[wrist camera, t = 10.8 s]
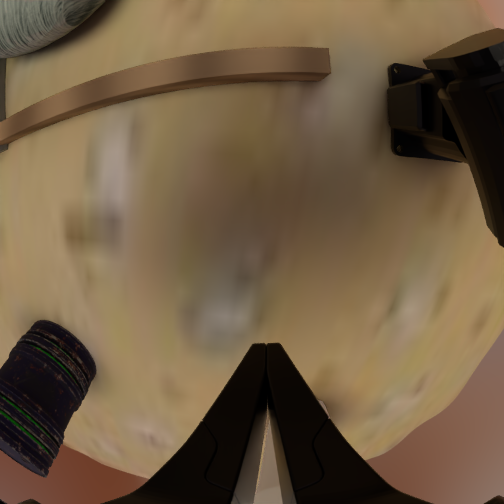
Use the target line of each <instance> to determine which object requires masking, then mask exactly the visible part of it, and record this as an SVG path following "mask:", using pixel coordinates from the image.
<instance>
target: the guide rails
mask: <svg viewBox="0 0 504 504" xmlns="http://www.w3.org/2000/svg"><path fill="white" fill-rule="evenodd" d="M330 73H331V68H330V56H329V48H313V47H264V48H246V49H233V50H223V51H215V52H207V53H200V54H193V55H187V56H182V57H176V58H171V59H166V60H161V61H157V62H152V63H148V64H144V65H140V66H136V67H132V68H129V69H125V70H122V71H118V72H115V73H112V74H109V75H105V76H102V77H99V78H96V79H93V80H91V81H88V82H85V83H82V84H80V85H77V86H74V87H72V88H69V89H67V90H65V91H62V92H60V93H57V94H55V95H53V96H51V97H48V98H46V99H44V100H42V101H40V102H38V103H35V104H33V105H31V106H29V107H27V108H25V109H23V110H22V111H20V112H18V113H16V114H14V115H12V116H10V117H9V118H7V119H5V120H3V121H2V122H0V146H1V145H5V144H8V143H10V142H12V141H14V140H17V139H19V138H21V137H23V136H25V135H28V134H30V133H32V132H35V131H37V130H39V129H42V128H44V127H47V126H49V125H52V124H54V123H57V122H60V121H63V120H65V119H68V118H71V117H74V116H77V115H80V114H83V113H86V112H89V111H92V110H96V109H99V108H102V107H106V106H109V105H113V104H117V103H121V102H124V101H128V100H133V99H137V98H141V97H146V96H150V95H155V94H160V93H165V92H171V91H177V90H183V89H189V88H196V87H203V86H211V85H220V84H230V83H242V82H258V81H321V80H322V79H324V78H325V77H326V76H328V75H329V74H330Z"/></svg>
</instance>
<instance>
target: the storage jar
mask: <svg viewBox="0 0 504 504" xmlns="http://www.w3.org/2000/svg"><path fill="white" fill-rule="evenodd" d="M95 374H96V366H95V363H94V360H93V358H92V356H91V355H90V353H89V352H88V350H87V349H86V348H85V346H84V345H83V344H82V343H81V342H80V341H79V340H78V339H77V338H76V337H75V336H74V335H72V334H71V333H70V332H69V331H67V330H66V329H65V328H63V327H61V326H60V325H58V324H56V323H53V322H50V321H46V320H40V321H37V322H36V323H34V325H33V326H32V327H31V329H30V330H29V331H28V332H27V333H26V334H25V335H23V336H22V337H21V338H20V340H19V341H18V342H17V344H16V346H15V347H14V348H13V349H12V351H11V352H10V354H9V358H8V360H7V361H6V362H5V363H4V365H3V366H2V367H1V369H0V450H1V451H3V452H4V453H5V454H7V455H8V456H9V457H11V458H12V459H13V460H15V461H16V462H18V463H19V464H21V465H22V466H24V467H25V468H27V469H29V470H30V471H32V472H34V473H36V474H38V475H40V476H42V477H45V478H46V477H47V475H48V473H49V470H48V469H49V467H51V465H52V463H53V459H56V456H57V454H58V452H59V448H60V446H61V444H63V439H64V431H65V429H66V427H67V425H68V423H69V421H70V419H71V417H72V415H73V413H74V412H75V411H77V410H78V408H79V406H81V403H82V400H83V399H84V398H85V396H86V394H87V392H88V388H89V386H90V384H91V381H92V380H93V379H94V377H95Z"/></svg>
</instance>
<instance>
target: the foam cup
mask: <svg viewBox="0 0 504 504" xmlns="http://www.w3.org/2000/svg"><path fill="white" fill-rule="evenodd" d="M317 400H318V399H317ZM318 401H319V403H320V404H321V406H322V407H323V409H324V410H325V412H326V413H327V414H328V411H327V409H326V406H325V405H324V403H323V401H321V400H318ZM328 416H329V414H328ZM329 418H330V416H329ZM254 504H283V502H282V496H281V490H280V483H279V477H278V471H277V465H276V458H275V452H274V445H273V439H272V433H271V426H270V420H269V425H268V431H267V437H266V443H265V449H264V455H263V461H262V466H261V472H260V477H259V483H258V488H257V493H256V494H255V496H254Z"/></svg>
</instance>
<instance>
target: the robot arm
mask: <svg viewBox="0 0 504 504" xmlns="http://www.w3.org/2000/svg"><path fill="white" fill-rule="evenodd" d="M423 62H424V63H425V65H426V67H427V68H428V69H430V70H426V69H422V68H418V67H413V66H409V65H404V64H399V63H393V64H391V65H390V66H389V68H388V71H389V84H390V88H389V89H388V90H387V93H388V116H389V125H390V127H391V149H392V152H393V153H394V154H395V155H398V156H405V157H416V158H427V159H436V160H444V161H452V162H460V163H461V162H464V163H467V164H469V166H470V169H471V172H472V175H473V178H474V181H475V184H476V187H477V190H478V194H479V197H480V201H481V204H482V208H483V211H484V215H485V219H486V223H487V226H488V228H489V229H490V230H491V232H492V233H493V234H494V236H495V237H496V238H497V239H498V243H499V245H501V246H502V247H504V30H503V29H500V28H496V29H492V30H489V31H485V32H482V33H478V34H475V35H472V36H469V37H467V38H465V39H463V40H461V41H459V42H457V43H455V44H452V45H450V46H448V47H446V48H444V49H442V50H440V51H438V52H436V53H434V54H432V55H430V56H428V57H427V58H425V59H423ZM394 67H395V68H397V69H398V73H396V72H395V71H394ZM399 145H400V147H401V150H400V151H399V152H398V151H397V147H398V146H399ZM267 405H268V412H269V420H270V426H271V433H272V439H273V445H274V452H275V458H276V465H277V471H278V477H279V483H280V490H281V496H282V502H283V504H432V503H430V502H426V501H424V500H421V499H418V498H415V497H413V496H410V495H408V494H405V493H403V492H401V491H399V490H397V489H395V488H394V487H392V486H391V485H389V484H388V483H387V482H386V481H385V480H384V479H383V478H382V477H380V475H378V473H377V472H376V471H375V470H374V469H373V468H372V467H371V466H370V465H369V464H368V463H367V462H366V461H365V460H364V459H363V458H362V457H361V456H360V455H359V454H358V453H357V452H356V451H355V450H354V448H353V447H352V446H351V445H350V444H349V443H348V442H347V441H346V439H345V438H344V437H343V435H342V434H341V433H340V431H339V430H338V429H337V427H336V426H335V424H334V423H333V422H332V420H331V419H330V418H329V416H328V414H327V413H326V412H325V410H324V409H323V407H322V406H321V404H320V403H319V401H318V400H317V398H316V397H315V395H314V394H313V392H312V391H311V389H310V388H309V386H308V385H307V383H306V382H305V380H304V379H303V377H302V376H301V374H300V373H299V371H298V370H297V368H296V367H295V365H294V364H293V362H292V361H291V359H290V358H289V356H288V354H287V353H286V351H285V350H284V348H283V347H282V345H281V344H280V343H268V344H267V345H266V344H265V343H255V344H252V346H251V347H250V349H249V350H248V352H247V353H246V355H245V356H244V358H243V360H242V361H241V363H240V364H239V366H238V367H237V369H236V370H235V372H234V373H233V375H232V376H231V378H230V379H229V381H228V382H227V384H226V385H225V387H224V388H223V390H222V391H221V393H220V394H219V396H218V397H217V399H216V400H215V402H214V403H213V405H212V406H211V408H210V409H209V411H208V412H207V413H206V415H205V416H204V418H203V419H202V420H203V421H201V422H200V423H199V425H198V426H197V428H196V429H195V430H194V432H193V433H192V434H191V436H190V437H189V438H188V440H187V441H186V442H185V443H184V444H183V446H182V447H181V448H180V449H179V450H178V451H177V452H176V453H175V454H174V455H173V456H172V457H171V458H170V459H169V460H168V461H167V462H166V463H165V464H164V465H163V466H162V467H161V468H160V469H159V470H158V471H157V472H156V473H155V474H154V475H153V476H152V477H151V478H150V479H149V480H148V481H147V482H146V483H145V484H144V485H143V486H141V487H140V488H138V489H137V490H135V491H134V492H132V493H130V494H127V495H125V496H122V497H119V498H117V499H114V500H111V501H108V502H105V503H102V504H253V502H254V496H255V490H256V484H257V478H258V472H259V465H260V459H261V452H262V445H263V438H264V431H265V424H266V417H267ZM0 504H7V503H5V502H4V501H2V500H1V499H0ZM18 504H40V503H38V502H37V501H35V500H33V499H29V500H26V501H23V502H21V503H18ZM484 504H504V497H502V496H500V495H499V496H496V497H494V498H492V499H491V500H489V501H488V502H486V503H484Z"/></svg>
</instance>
